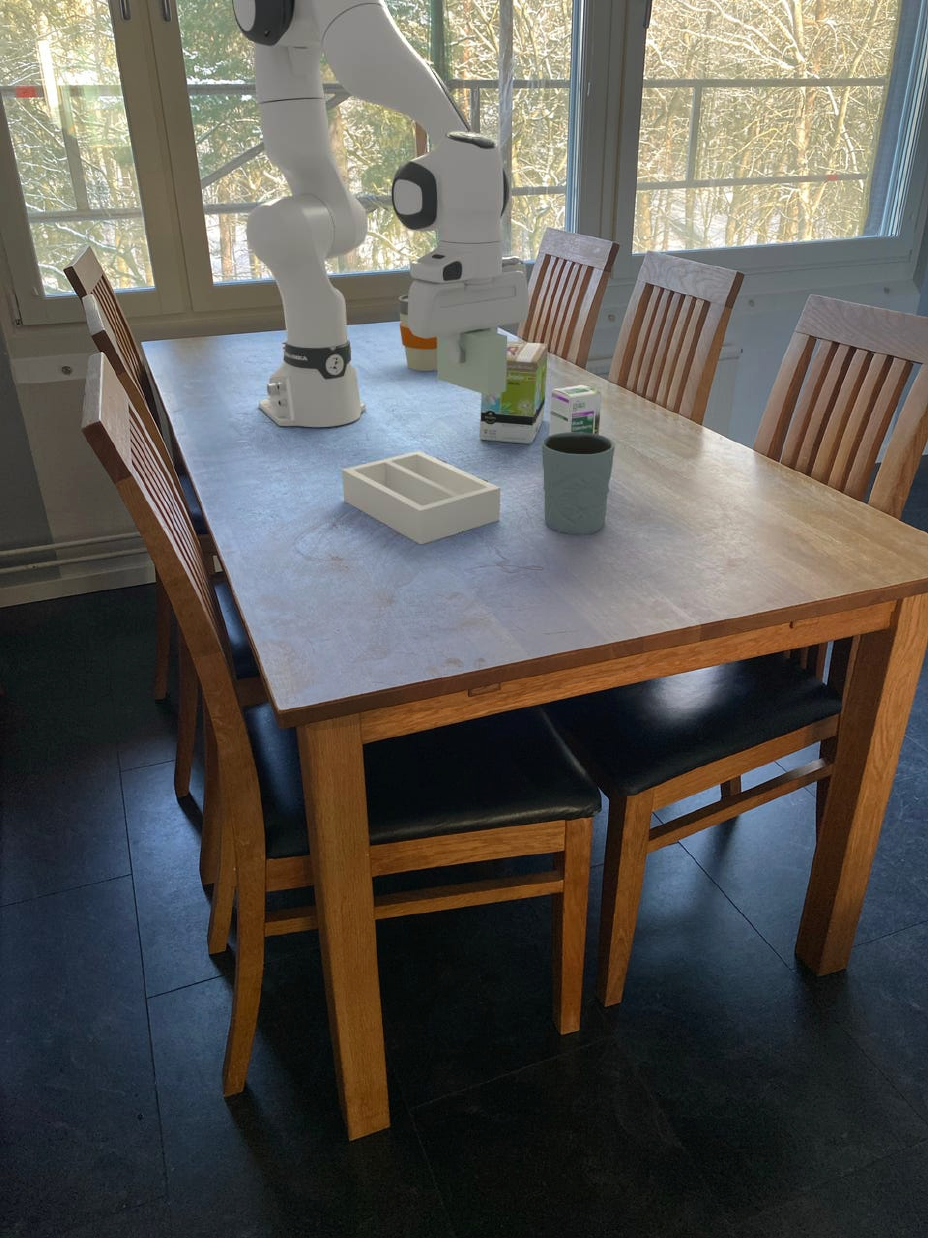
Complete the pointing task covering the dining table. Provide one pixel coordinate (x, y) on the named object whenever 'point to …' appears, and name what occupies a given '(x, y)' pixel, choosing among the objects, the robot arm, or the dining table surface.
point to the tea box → (517, 396)
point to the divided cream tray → (421, 496)
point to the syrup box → (575, 410)
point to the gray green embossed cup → (576, 481)
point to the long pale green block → (476, 362)
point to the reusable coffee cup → (416, 343)
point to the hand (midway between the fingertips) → (470, 360)
